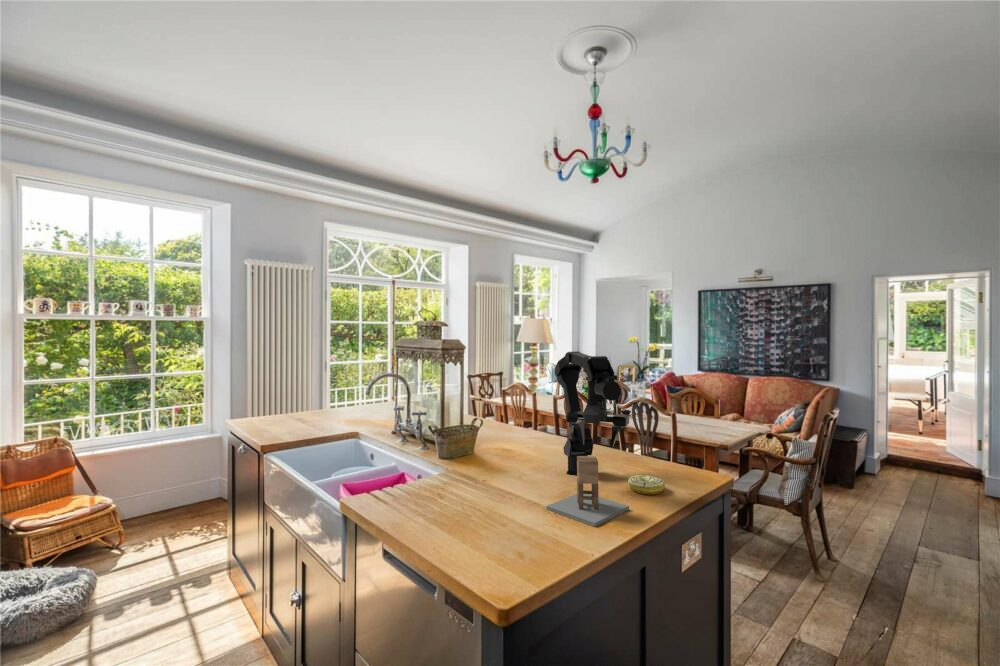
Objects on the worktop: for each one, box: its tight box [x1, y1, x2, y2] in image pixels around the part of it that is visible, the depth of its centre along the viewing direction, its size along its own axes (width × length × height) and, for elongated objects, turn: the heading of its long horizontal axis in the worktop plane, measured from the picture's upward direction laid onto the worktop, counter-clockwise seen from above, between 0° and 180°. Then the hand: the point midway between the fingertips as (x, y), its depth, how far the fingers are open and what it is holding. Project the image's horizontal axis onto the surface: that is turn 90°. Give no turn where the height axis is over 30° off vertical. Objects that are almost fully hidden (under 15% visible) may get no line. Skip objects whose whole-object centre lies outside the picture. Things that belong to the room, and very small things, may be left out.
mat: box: [546, 493, 630, 528], centre depth 127 cm, size 16×16×1 cm
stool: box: [576, 455, 599, 510], centre depth 127 cm, size 5×5×13 cm
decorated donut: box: [627, 474, 665, 496], centre depth 142 cm, size 10×11×4 cm
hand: (597, 445), depth 145 cm, fingers open, 9 cm apart
